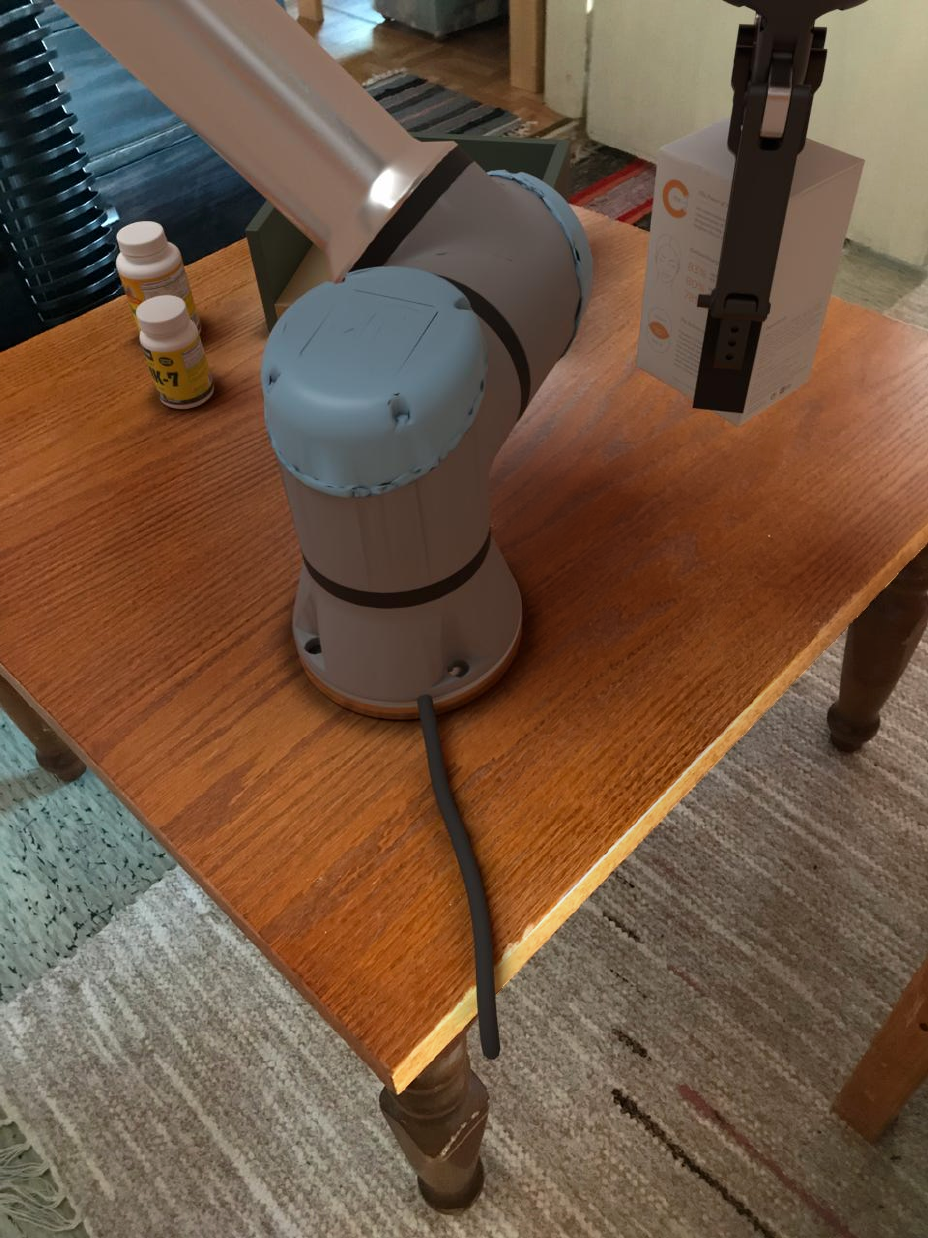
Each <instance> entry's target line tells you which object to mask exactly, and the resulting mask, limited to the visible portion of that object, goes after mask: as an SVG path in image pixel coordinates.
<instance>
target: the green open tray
mask: <svg viewBox="0 0 928 1238" xmlns="http://www.w3.org/2000/svg"><path fill="white" fill-rule="evenodd" d="M407 132H408V133H409V134H410V135H411V136H412V137H413V138H415V139H417V140H419V141H421V142H441V141H454V142H455V143H457V144H458V145H459V146H460V147H461V148H462V149H463V150H464V151H465V152H466V153H467V154H468V155H469V156H470V157H471V158H472V159H473V160H474V161H475V162H476V163H477V164H478V165H479V166H480V167H481V168H482V169H483V170H484V171H485V172H486V173H487V172H490V171H496V170H506V171H508V172H509V173H512V174H517V173H520V172H523V173H526V174H529V175H531V176H534V177H536V178H538V179H540V180H541V181H543V182H545V183H546V184H548V185H549V186H550V187H552V188H553V189H554V190H555V191H556V192H558V193H559V194H560V195H561V196H562V197H563V198H564V199H565V201H566V202H567V203H568V204H569V205H570V178H571V176H570V175H571V149H572V148H571V147H572V140H571V139H557V138H556V139H555V138H537V137H533V138H532V137H518V136H499V135H479V134H461V133H460V134H458V133H457V134H454V133H442V132H441V133H440V132H420V131H407ZM244 231H245V236H246V237H245V238H246V240H247V241H246V242H247V245H248V248H249V254H250V258H251V262H252V266H253V271H254V275H255V281H256V284H257V289H258V293H259V296H260V300H261V305H262V311H263V314H264V318H265V322H266V327H267V331H268V333H271V331H272V329H273V328H274V326H275V324H276V323H277V321H278V320H279V319H280V317H281V316H282V315H283V313H284V312H285V311H286V310H287V309H288V308H289V307H290V306H291V305H292V304H293V303H294V302H295V301H296V300H297V299H299V298H300V297H302V296H303V295H304V294H306V293H307V292H308V291H310V290H311V289H313V288H315V287H316V286H318V285H320V284H322V283H324V282H326V281H329V272H328V261H327V258H326V256H325V254H324V252H323V251H322V250H321V249H320V248H318V247H317V246H316V245H315V244H314V243H313V242H312V241H311V240H310V239H309V238H308V237H307V236H306V235H304V234H303V233H302V232H301V231H300V230H299V229H298V228H297V227H296V226H295V225H294V224H293V223H292V222H290V221H289V220H288V219H287V218H286V217H285V216H284V215H283V214H282V213H281V212H280V211H279V210H278V209H277V208H275V207H274V206H273V205H272V204H271V203H270V202H269V201H268V200H267V199H266V201H265V202H264V203H263V205H262V206H261V207H260V209H259V210H258V211H257V213H256V214H255V215H254V217H253V218H252V220H251V221H250V222H249V224H248V225H247V226H246V228H245V230H244Z"/></svg>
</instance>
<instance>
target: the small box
mask: <svg viewBox="0 0 928 1238" xmlns="http://www.w3.org/2000/svg"><path fill="white" fill-rule="evenodd" d="M730 120H731V115H729V116H727V117H725V118H722V119H720V120H719V121H716V122H714V123H712V124H709V125H707V126H704V127H701V128H700V129H698V130H696V131H693V132H691V133H689V134H687V135H686V134H685V136H682V137H679V138H678V139H675V140H673V141H671V142H668V143H665V144H663V145H661V146H660V147H658V148H657V149H658V150H657V157H656V158H657V159H656V171H655V179H654V189H653V200H652V208H651V218H650V226H649V236H648V244H647V245H648V247H647V254H646V255H647V256H646V266H645V274H644V283H643V293H642V301H641V311H640V323H639V332H638V342H637V351H636V360H635V367H636V368H638V369H639V370H641V371H643V372H644V373H646V374H648V375H649V376H651V377H653V378H654V379H656V380H658V381H660V382H661V383H663V384H665V385H666V386H668V387H670V388H672V389H673V390H675V391H677V392H679V393H680V394H682V395H683V396H684V397H686V398H688V399H690V400H692V401H693V400H694V394H695V388H696V381H697V375H698V369H699V363H700V357H701V351H702V345H703V339H704V333H705V326H706V320H707V314H708V308H700V307H697V301H698V294H707V295H711V293H712V290H714V288H715V286H716V280H717V274H718V267H719V261H720V255H721V248H722V242H723V236H724V229H725V223H726V216H727V210H728V204H729V197H730V191H731V185H732V178H733V172H734V166H735V157H734V155H733V154H732V153H730V152H729V150H728V148H727V139H728V133H729V126H730ZM742 127H743V125H741V131H742ZM865 162H866V160H865V159H864V158H862V157H859V156H856V155H853V154H850V153H847V152H845V151H842V150H840V149H838V148H835V147H832V146H830V145H827V144H824V143H821V142H818V141H815V140H814V139H811V138H809V137H806V142H805V146H804V149H803V150H802V151H801V152H800V154H799V155H797V160H796V165H795V170H794V175H793V180H792V185H791V191H790V196H789V201H788V206H787V211H786V216H785V222H784V227H783V232H782V237H781V242H780V247H779V253H778V258H777V263H776V268H775V273H774V278H773V283H772V289H771V294H770V299H769V301H770V303H771V308H770V313H769V314H768V315H767V319H766V320H765V322H763V323H762V328H761V332H760V337H759V342H758V346H757V351H756V356H755V360H754V365H753V370H752V375H751V379H750V384H749V389H748V393H747V398H746V403H745V407H744V412H743V414H742V413H733V412H723V411H714V410H709V411H710V412H712V413H713V414H715V415H717V416H719V417H721V418H722V419H724V420H726V421H728V422H729V423H731V424H732V425H734V426H735V427H740V426H742V425H744V424H745V423H747V422H749V421H750V420H752V419H754V417H756V416H758V415H760V414H761V413H762V412H764V411H766V410H767V409H768V408H770V407H772V406H773V405H775V404H776V403H778V402H779V401H781V400H782V399H784V398H786V397H787V396H788V395H790V394H792V393H793V392H795V391H797V390H798V389H799V388H801V387H802V386H804V385H805V384H807V383H808V382H809V379H810V377H811V374H812V369H813V365H814V361H815V357H816V354H817V350H818V345H819V342H820V339H821V334H822V331H823V327H824V326H823V325H824V323H825V319H826V316H827V312H828V308H829V305H830V300H831V297H832V296H831V295H832V293H833V288H834V283H835V280H836V276H837V272H838V268H839V265H840V260H841V257H842V252H843V249H844V245H845V241H846V237H847V234H848V230H849V225H850V221H851V217H852V213H853V209H854V205H855V203H856V202H855V201H856V198H857V194H858V191H859V187H860V182H861V179H862V174H863V170H864V166H865V164H866V163H865Z"/></svg>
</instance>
